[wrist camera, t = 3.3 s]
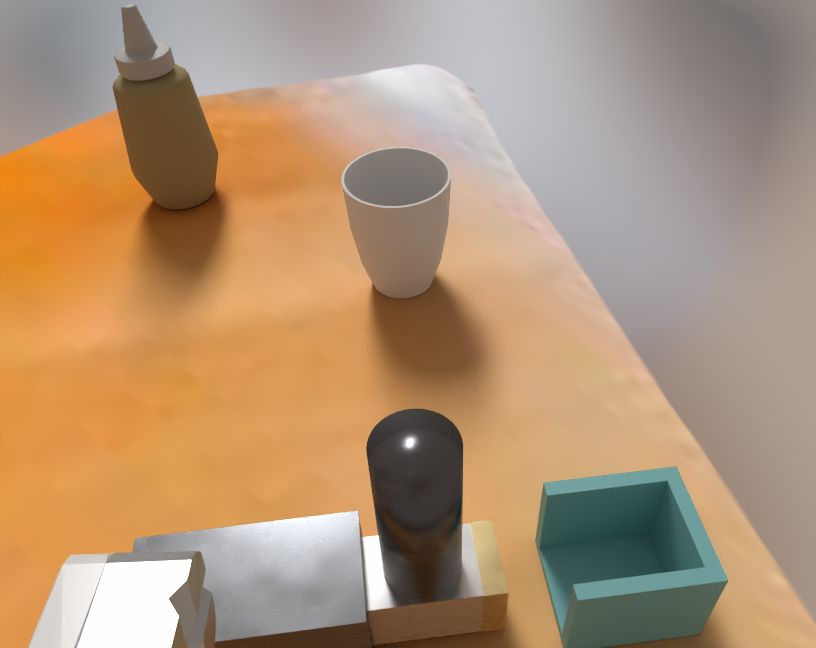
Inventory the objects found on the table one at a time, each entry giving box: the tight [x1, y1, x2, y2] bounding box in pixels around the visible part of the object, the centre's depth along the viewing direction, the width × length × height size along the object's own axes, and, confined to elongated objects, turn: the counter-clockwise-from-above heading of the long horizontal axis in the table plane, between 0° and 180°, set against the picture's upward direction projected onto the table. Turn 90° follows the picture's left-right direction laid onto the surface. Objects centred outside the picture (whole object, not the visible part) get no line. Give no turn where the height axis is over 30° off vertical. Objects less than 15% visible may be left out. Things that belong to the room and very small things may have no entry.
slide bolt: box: [361, 409, 508, 645], centre depth 35 cm, size 17×4×14 cm, turn 96°
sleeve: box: [133, 511, 374, 648], centre depth 39 cm, size 12×6×6 cm, turn 96°
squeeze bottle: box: [113, 4, 218, 210], centre depth 66 cm, size 8×8×18 cm
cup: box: [341, 147, 451, 298], centre depth 58 cm, size 8×8×10 cm
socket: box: [535, 467, 728, 648], centre depth 39 cm, size 7×7×6 cm
